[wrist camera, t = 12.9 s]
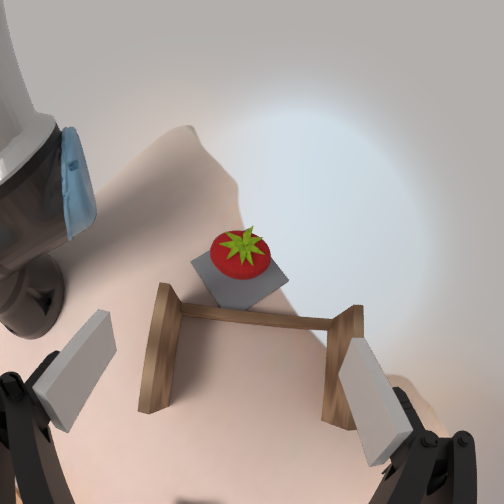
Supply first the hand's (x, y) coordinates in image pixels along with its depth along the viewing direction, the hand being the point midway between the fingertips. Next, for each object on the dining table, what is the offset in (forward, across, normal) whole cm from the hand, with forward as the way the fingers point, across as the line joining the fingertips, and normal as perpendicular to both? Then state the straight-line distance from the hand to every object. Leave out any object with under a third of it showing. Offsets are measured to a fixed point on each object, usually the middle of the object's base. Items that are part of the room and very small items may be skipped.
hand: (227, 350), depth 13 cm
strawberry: (+24, 0, -6) cm, 25 cm away
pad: (+25, 0, -6) cm, 25 cm away
